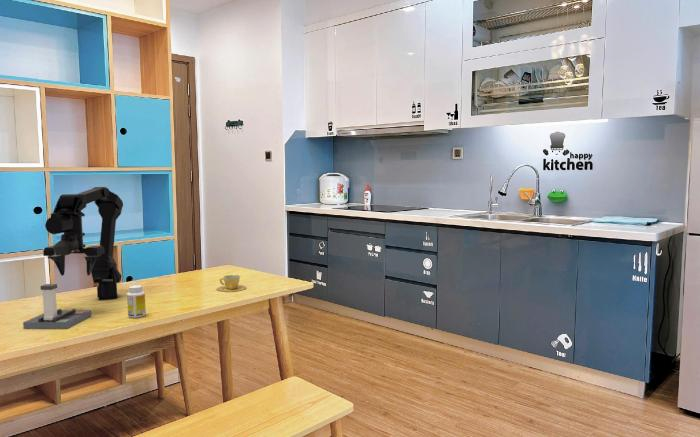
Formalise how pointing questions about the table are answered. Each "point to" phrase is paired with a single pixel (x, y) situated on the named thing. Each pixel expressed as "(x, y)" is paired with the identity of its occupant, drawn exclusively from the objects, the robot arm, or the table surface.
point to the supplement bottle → (136, 302)
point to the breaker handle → (49, 301)
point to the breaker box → (58, 320)
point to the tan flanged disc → (231, 283)
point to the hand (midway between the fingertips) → (75, 275)
